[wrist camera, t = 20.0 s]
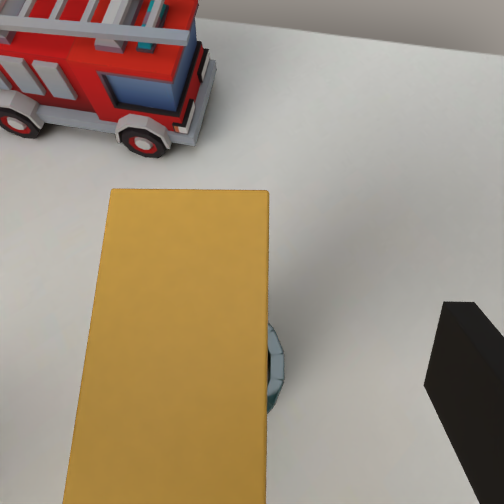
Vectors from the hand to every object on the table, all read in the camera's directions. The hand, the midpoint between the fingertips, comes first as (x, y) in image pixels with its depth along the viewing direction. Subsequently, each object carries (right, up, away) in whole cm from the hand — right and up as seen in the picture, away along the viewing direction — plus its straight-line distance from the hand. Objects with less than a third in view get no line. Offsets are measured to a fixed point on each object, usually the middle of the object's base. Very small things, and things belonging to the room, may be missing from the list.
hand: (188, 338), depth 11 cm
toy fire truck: (-11, +15, +24) cm, 30 cm away
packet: (0, -3, +8) cm, 9 cm away
